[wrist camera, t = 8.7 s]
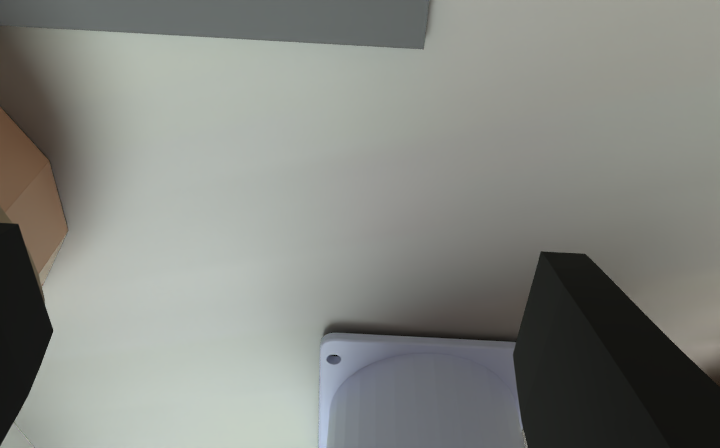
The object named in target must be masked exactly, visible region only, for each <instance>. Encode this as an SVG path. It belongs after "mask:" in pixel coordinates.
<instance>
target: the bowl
mask: <svg viewBox="0 0 720 448" xmlns="http://www.w3.org/2000/svg"><path fill="white" fill-rule="evenodd" d="M0 207H1V208H2V209H3V211H4V212H5V213H6V215H7V216H8V218H9V219H10V220H11V222H12V223H15V224H19V227H20V230H21V233H22V236H23V239H24V242H25V245H26V247H27V248H28V250H29V252H30V255H31V257H32V260H33V262H34V265H35V267H36V269H37V272H38V274H39V278H40V282H41V286H42V285H43V283H44V282H45V280H46V277H47V275H48V273H49V271H50V269H51V267H52V264H53V262H54V260H55V258H56V256H57V254H58V252H59V249H60V247H61V245H62V243H63V241H64V239H65V236H66V234H67V232H68V228H67V224H66V221H65V217H64V213H63V210H62V206H61V202H60V199H59V195H58V191H57V188H56V184H55V180H54V177H53V173H52V169H51V166H50V162H49V160H48V159H47V158H46V157H45V156H44V155H43V153H42V152H41V151H40V150H39V149H38V148H37V147H36V146H35V145H34V144H33V142H32V141H31V140H30V139H29V138H28V137H27V136H26V135H25V134H24V132H23V131H22V130H21V129H20V128H19V127H18V126H17V125H16V124H15V122H14V121H13V120H12V119H11V118H10V117H9V116H8V115H7V114H6V113H5V111H4V110H3V109H2V108H1V107H0Z"/></svg>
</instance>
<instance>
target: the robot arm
mask: <svg viewBox="0 0 720 448" xmlns="http://www.w3.org/2000/svg"><path fill="white" fill-rule="evenodd" d="M52 333H53V328H52V325H51V322H50V319H49V316H48V313H47V310H46V307H45V304H44V301H43V298H42V295H41V292H40V288H39V285H38V282H37V279H36V276H35V273H34V270H33V267H32V264H31V261H30V258H29V255H28V252H27V249H26V246H25V242H24V239H23V236H22V233H21V230H20V227H19V224H15V223H0V446H1V444H2V442H3V440H4V439H5V437H6V435H7V433H8V431H9V430H10V428H11V426H12V424H13V422H14V420H15V419H16V417H17V415H18V413H19V411H20V410H21V408H22V406H23V404H24V402H25V400H26V398H27V397H28V394H29V392H30V390H31V387H32V385H33V382H34V380H35V378H36V375H37V373H38V370H39V368H40V365H41V363H42V360H43V357H44V355H45V352H46V349H47V347H48V344H49V341H50V339H51V336H52ZM333 354H335V355H338V356H330V355H333ZM522 429H524V433H525V437H526V441H527V445H528V448H720V387H719V386H718V385H717V384H716V383H715V382H714V381H713V380H712V379H711V378H710V377H708V376H707V375H706V374H705V373H704V372H703V371H702V370H701V369H700V368H699V367H698V366H697V365H696V364H695V363H694V362H693V361H692V360H691V359H690V358H689V357H687V356H686V355H685V354H684V353H683V352H682V351H681V350H680V349H679V348H678V347H677V346H676V345H675V344H674V343H673V342H672V341H671V340H670V339H669V338H668V337H667V336H666V335H665V334H664V333H663V332H662V331H661V330H660V329H659V328H658V327H657V326H656V325H655V324H654V323H653V322H652V321H651V320H650V319H649V318H648V317H647V316H646V315H645V314H644V313H643V312H642V311H641V310H640V309H639V308H638V307H637V306H636V305H635V304H634V303H633V302H632V301H631V300H630V298H629V297H628V296H627V295H626V294H625V293H624V292H623V291H622V290H621V289H620V288H619V287H618V286H617V285H616V284H615V283H614V282H613V281H612V280H611V279H610V278H609V277H608V276H607V275H606V274H605V273H604V272H603V271H602V270H601V269H600V268H599V267H598V266H597V265H596V264H595V263H594V262H593V261H592V260H591V259H590V258H589V257H588V256H587V255H586V254H576V253H558V252H541V253H540V257H539V261H538V264H537V268H536V272H535V275H534V279H533V283H532V286H531V290H530V294H529V297H528V301H527V304H526V308H525V312H524V315H523V319H522V323H521V326H520V330H519V334H518V337H517V341H516V342H506V341H486V340H467V339H448V338H429V337H409V336H390V335H371V334H352V333H329V334H326V335H324V336H323V337H322V339H321V344H320V379H319V435H318V448H525V444H524V440H523V435H522Z"/></svg>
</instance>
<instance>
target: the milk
mask: <svg viewBox="0 0 720 448" xmlns="http://www.w3.org/2000/svg"><path fill="white" fill-rule="evenodd" d="M0 448H34V446H33V445H32V444H31V443H30V441H29V440H28V439H27V438H26V437H25V435H24V434H23V433H22V432H21V431H20V429H19V428H18V427H17V426H16V424H15V423H14V422H13V424H12V426H11V428H10V430H9V431H8V433H7V435H6V437H5V439H4V440H3V442H2V444H1V446H0Z"/></svg>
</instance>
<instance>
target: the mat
mask: <svg viewBox="0 0 720 448" xmlns="http://www.w3.org/2000/svg"><path fill="white" fill-rule="evenodd" d="M428 7H429V0H0V25H2V26H20V27H38V28H56V29H73V30H91V31H109V32H127V33H144V34H162V35H180V36H198V37H215V38H233V39H251V40H269V41H286V42H304V43H322V44H340V45H357V46H375V47H393V48H411V49H424V43H425V34H426V25H427V16H428Z"/></svg>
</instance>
